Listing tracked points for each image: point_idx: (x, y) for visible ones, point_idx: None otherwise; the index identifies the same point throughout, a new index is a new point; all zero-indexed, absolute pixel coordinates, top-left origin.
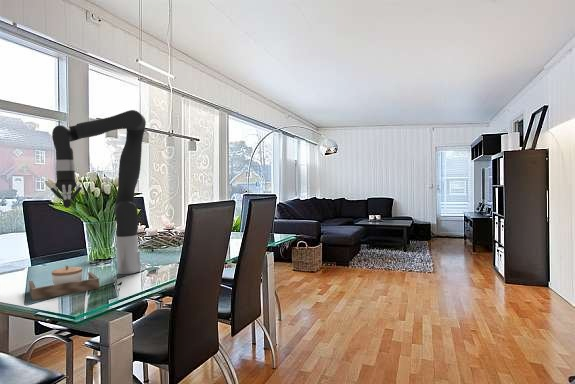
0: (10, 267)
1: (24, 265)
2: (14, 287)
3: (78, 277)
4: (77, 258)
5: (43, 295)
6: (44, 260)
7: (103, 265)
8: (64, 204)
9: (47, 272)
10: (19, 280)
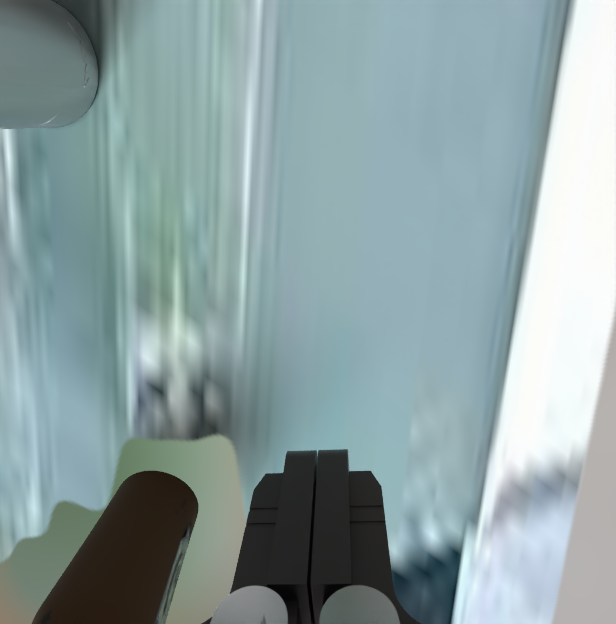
0: (540, 566)
1: (487, 570)
2: (613, 89)
3: None
4: None
5: None
6: None
7: (172, 348)
8: (367, 508)
9: (423, 360)
10: (560, 258)
